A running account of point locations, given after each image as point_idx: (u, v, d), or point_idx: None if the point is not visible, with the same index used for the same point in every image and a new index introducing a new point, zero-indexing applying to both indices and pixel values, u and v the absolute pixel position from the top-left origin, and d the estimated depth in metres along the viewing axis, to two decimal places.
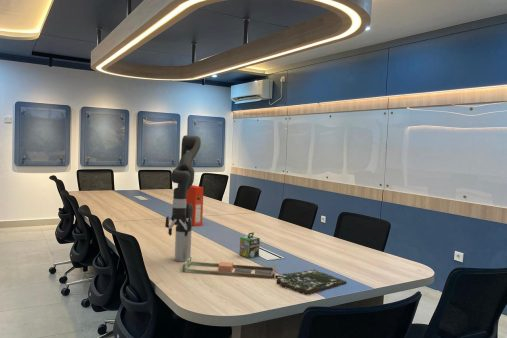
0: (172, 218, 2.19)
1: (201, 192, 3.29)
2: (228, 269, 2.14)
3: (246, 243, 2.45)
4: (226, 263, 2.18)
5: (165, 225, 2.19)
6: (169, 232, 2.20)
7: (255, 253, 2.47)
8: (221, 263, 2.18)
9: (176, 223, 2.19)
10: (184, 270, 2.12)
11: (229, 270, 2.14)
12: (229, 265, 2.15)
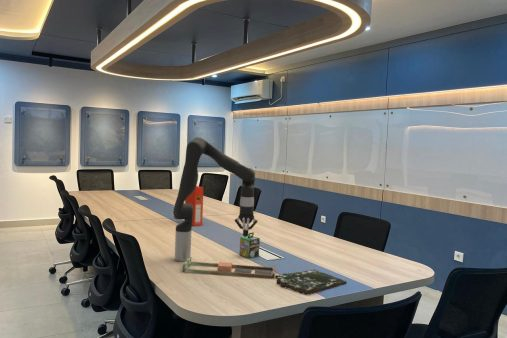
0: (240, 217, 2.14)
1: (201, 192, 3.29)
2: (227, 269, 2.13)
3: (246, 243, 2.45)
4: (225, 263, 2.18)
5: (240, 226, 2.14)
6: (243, 233, 2.15)
7: (255, 253, 2.47)
8: (220, 263, 2.18)
9: (246, 220, 2.14)
10: (184, 270, 2.12)
11: (228, 270, 2.13)
12: (228, 265, 2.15)
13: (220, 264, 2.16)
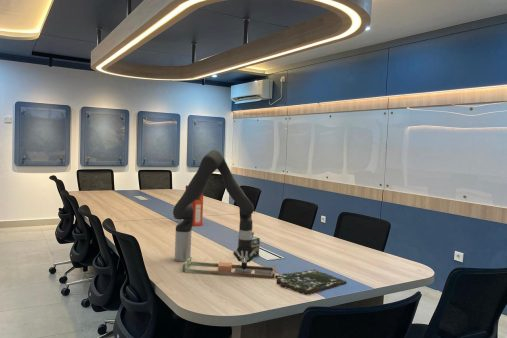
0: (238, 250, 2.15)
1: None
2: (228, 269, 2.14)
3: None
4: (225, 263, 2.18)
5: (238, 259, 2.15)
6: (242, 266, 2.16)
7: None
8: (220, 263, 2.17)
9: (245, 253, 2.15)
10: (184, 270, 2.12)
11: (229, 270, 2.14)
12: (229, 265, 2.15)
13: (220, 264, 2.16)
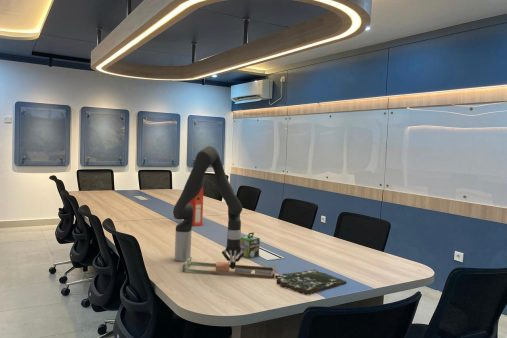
0: (227, 249, 2.16)
1: (201, 192, 3.29)
2: (225, 269, 2.14)
3: (246, 243, 2.45)
4: (223, 263, 2.18)
5: (227, 258, 2.16)
6: None
7: (255, 253, 2.47)
8: (218, 263, 2.18)
9: (233, 253, 2.16)
10: (184, 270, 2.12)
11: (227, 270, 2.14)
12: (226, 265, 2.15)
13: (218, 264, 2.16)
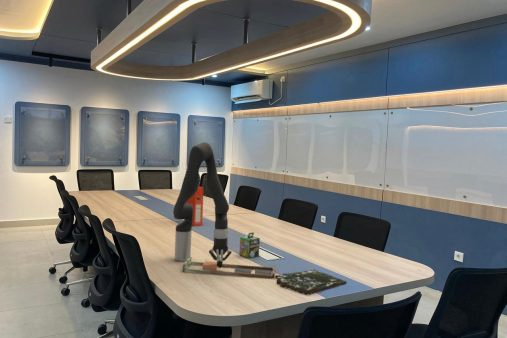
0: (214, 248, 2.16)
1: (201, 192, 3.29)
2: (212, 268, 2.15)
3: (246, 243, 2.45)
4: (211, 262, 2.20)
5: (214, 258, 2.17)
6: None
7: (255, 253, 2.47)
8: (205, 262, 2.19)
9: (220, 252, 2.16)
10: (184, 270, 2.12)
11: (213, 269, 2.15)
12: (213, 264, 2.16)
13: (205, 263, 2.18)
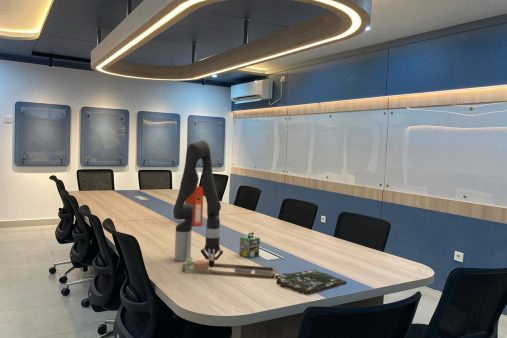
0: (206, 248, 2.17)
1: (201, 192, 3.29)
2: (204, 267, 2.15)
3: (246, 243, 2.45)
4: (202, 261, 2.20)
5: (205, 257, 2.17)
6: (209, 264, 2.17)
7: (255, 253, 2.47)
8: (197, 261, 2.19)
9: (212, 251, 2.16)
10: (184, 270, 2.12)
11: (205, 268, 2.15)
12: (205, 263, 2.17)
13: (197, 262, 2.18)
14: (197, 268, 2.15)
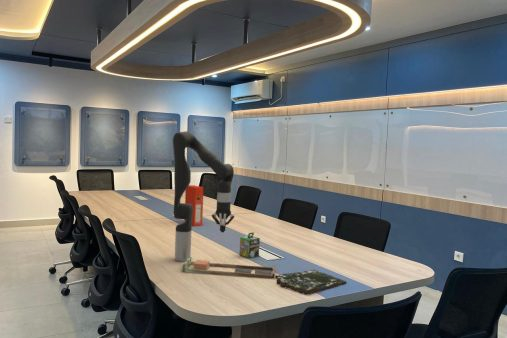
0: (217, 212, 2.15)
1: (201, 192, 3.29)
2: (203, 267, 2.15)
3: (246, 243, 2.45)
4: (202, 261, 2.20)
5: (216, 222, 2.16)
6: (220, 229, 2.16)
7: (255, 253, 2.47)
8: (197, 261, 2.19)
9: (223, 216, 2.15)
10: (184, 270, 2.12)
11: (204, 268, 2.15)
12: (205, 263, 2.16)
13: (197, 262, 2.18)
14: (197, 268, 2.15)
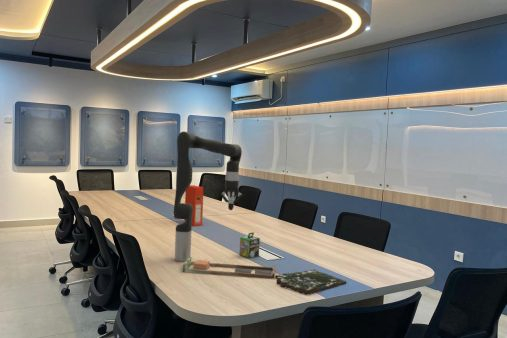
0: (225, 191, 2.24)
1: (201, 192, 3.29)
2: (203, 267, 2.15)
3: (246, 243, 2.45)
4: (202, 261, 2.20)
5: (225, 200, 2.24)
6: None
7: (255, 253, 2.47)
8: (197, 261, 2.20)
9: (231, 194, 2.24)
10: (184, 270, 2.12)
11: (204, 268, 2.15)
12: (204, 263, 2.16)
13: (197, 262, 2.18)
14: (196, 268, 2.16)
